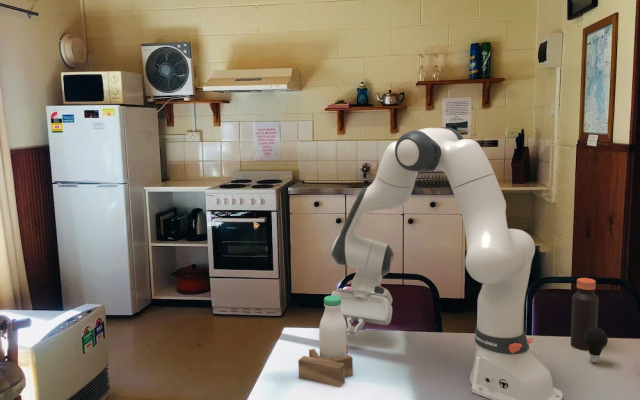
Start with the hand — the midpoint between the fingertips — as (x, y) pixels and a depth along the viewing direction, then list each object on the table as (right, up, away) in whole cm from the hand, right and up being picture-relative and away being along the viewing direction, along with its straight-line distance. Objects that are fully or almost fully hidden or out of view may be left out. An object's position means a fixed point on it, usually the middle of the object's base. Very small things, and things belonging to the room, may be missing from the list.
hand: (352, 333), depth 161 cm
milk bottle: (-6, -7, -11) cm, 14 cm away
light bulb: (+66, -5, -12) cm, 67 cm away
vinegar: (+68, -4, -1) cm, 68 cm away
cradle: (-8, -8, -16) cm, 19 cm away
